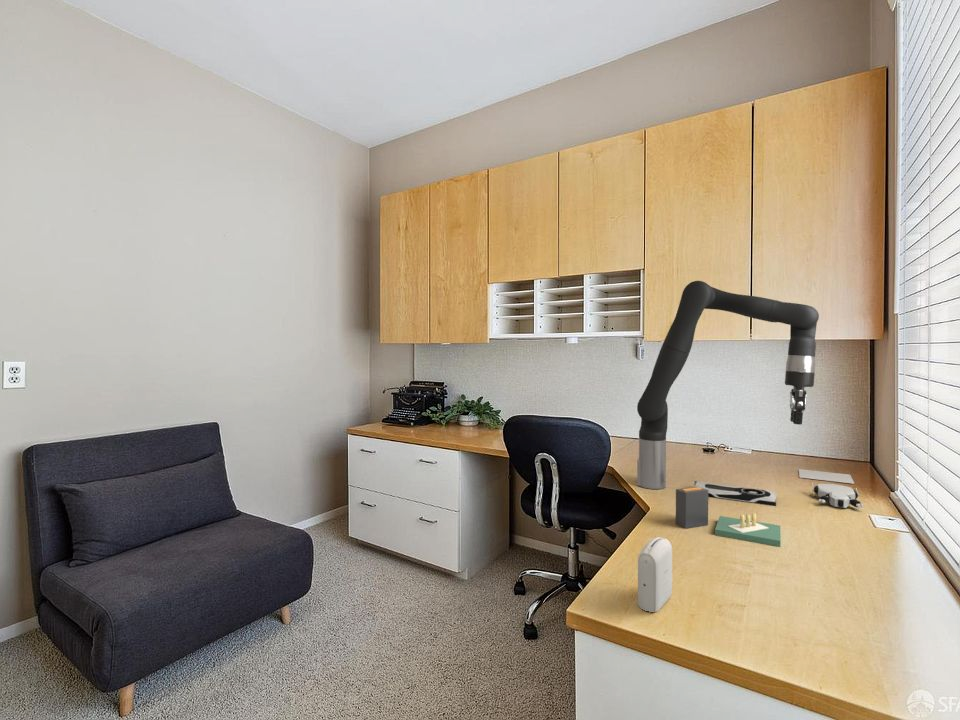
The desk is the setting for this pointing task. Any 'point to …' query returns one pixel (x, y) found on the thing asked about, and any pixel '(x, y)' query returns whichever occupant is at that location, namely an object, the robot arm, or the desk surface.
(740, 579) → the desk surface
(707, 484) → the graphics card
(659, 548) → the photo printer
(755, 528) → the header board
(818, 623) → the desk surface
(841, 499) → the robot toy
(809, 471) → the paper stack
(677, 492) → the block
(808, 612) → the desk surface
